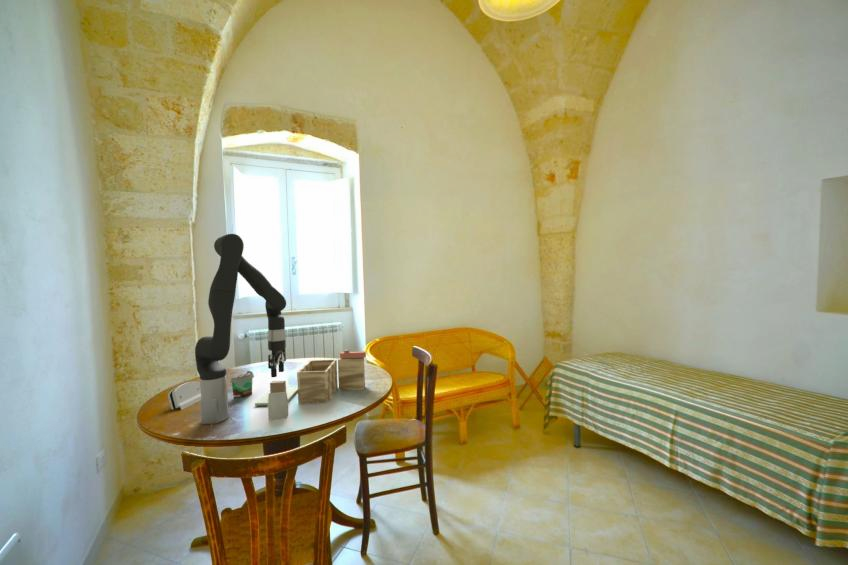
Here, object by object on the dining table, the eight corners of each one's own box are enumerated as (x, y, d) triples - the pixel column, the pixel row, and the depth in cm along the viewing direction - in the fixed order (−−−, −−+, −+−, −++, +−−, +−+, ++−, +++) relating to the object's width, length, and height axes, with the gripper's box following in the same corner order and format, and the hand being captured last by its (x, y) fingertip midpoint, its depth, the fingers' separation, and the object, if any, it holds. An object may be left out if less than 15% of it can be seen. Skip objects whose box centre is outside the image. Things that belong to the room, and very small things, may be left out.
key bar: (365, 357, 181) (365, 350, 181) (340, 358, 181) (339, 350, 181) (365, 356, 183) (365, 348, 183) (341, 357, 183) (340, 349, 183)
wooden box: (358, 401, 166) (357, 367, 165) (298, 403, 165) (296, 369, 164) (365, 386, 186) (364, 356, 185) (311, 388, 185) (309, 358, 184)
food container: (243, 400, 171) (242, 378, 170) (231, 399, 172) (230, 378, 172) (260, 391, 183) (259, 370, 183) (249, 390, 184) (248, 370, 184)
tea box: (286, 418, 150) (285, 393, 149) (268, 419, 149) (267, 395, 148) (288, 414, 153) (287, 390, 153) (271, 416, 153) (270, 391, 152)
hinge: (181, 410, 161) (172, 388, 161) (172, 413, 162) (163, 391, 162) (208, 396, 178) (200, 376, 178) (200, 399, 179) (192, 379, 178)
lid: (285, 406, 163) (284, 388, 163) (255, 407, 163) (254, 389, 163) (299, 390, 183) (298, 374, 183) (272, 391, 183) (272, 375, 182)
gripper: (274, 336, 178) (275, 370, 179) (261, 342, 164) (262, 378, 165) (290, 336, 178) (291, 370, 179) (278, 341, 164) (279, 378, 165)
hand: (277, 374), depth 172 cm, fingers open, 8 cm apart
